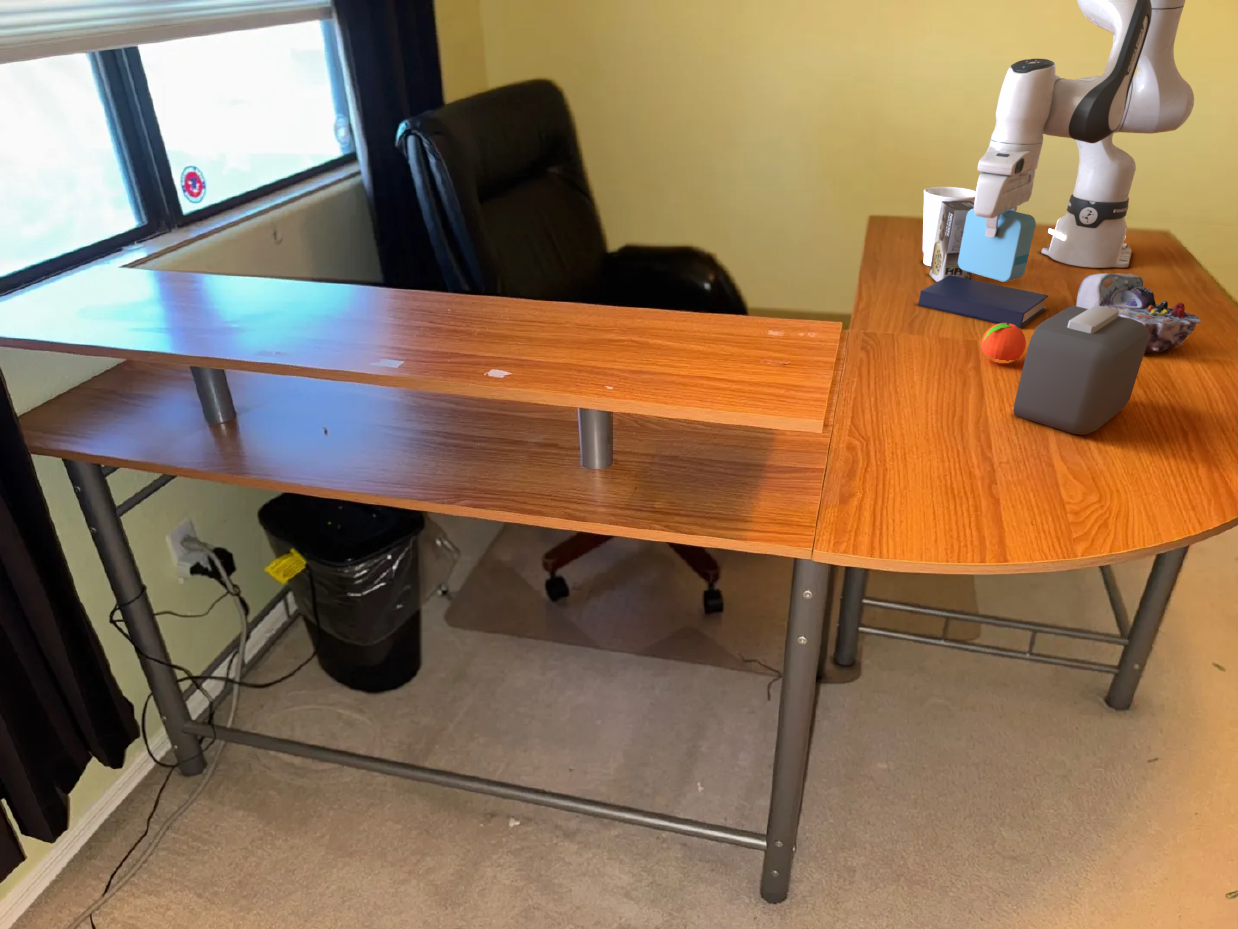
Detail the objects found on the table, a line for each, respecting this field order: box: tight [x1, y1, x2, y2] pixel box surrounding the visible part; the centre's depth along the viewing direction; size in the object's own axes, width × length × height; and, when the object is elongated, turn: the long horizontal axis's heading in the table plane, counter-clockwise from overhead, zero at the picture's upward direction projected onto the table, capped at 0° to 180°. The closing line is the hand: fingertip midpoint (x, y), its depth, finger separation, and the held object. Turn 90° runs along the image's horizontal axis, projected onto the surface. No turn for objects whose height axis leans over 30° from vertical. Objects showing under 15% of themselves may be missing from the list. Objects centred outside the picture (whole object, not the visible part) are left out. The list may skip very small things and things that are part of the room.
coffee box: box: [929, 201, 974, 283], centre depth 186 cm, size 9×6×16 cm
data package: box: [958, 209, 1036, 283], centre depth 168 cm, size 12×4×12 cm, turn 34°
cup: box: [922, 186, 976, 267], centre depth 197 cm, size 12×12×16 cm
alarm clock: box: [1013, 305, 1148, 436], centre depth 128 cm, size 16×11×16 cm
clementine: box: [980, 323, 1027, 366], centre depth 147 cm, size 8×7×7 cm
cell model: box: [1075, 272, 1202, 354], centre depth 157 cm, size 13×11×20 cm
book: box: [917, 275, 1049, 329], centre depth 174 cm, size 14×20×3 cm
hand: (997, 233), depth 167 cm, fingers closed on data package, 5 cm apart
